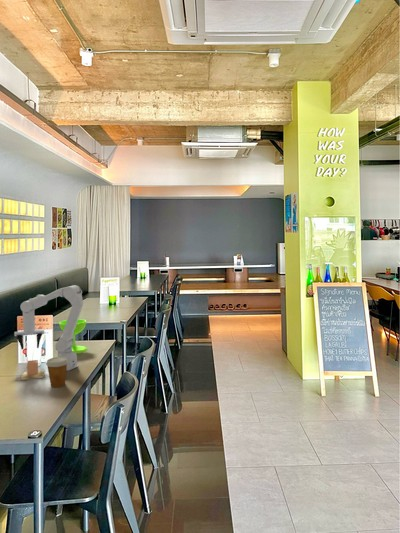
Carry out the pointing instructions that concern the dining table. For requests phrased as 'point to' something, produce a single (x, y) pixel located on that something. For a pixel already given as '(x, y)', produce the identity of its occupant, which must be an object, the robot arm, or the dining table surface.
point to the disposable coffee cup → (57, 371)
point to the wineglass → (78, 329)
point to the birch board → (39, 375)
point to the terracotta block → (32, 367)
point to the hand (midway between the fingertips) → (30, 348)
